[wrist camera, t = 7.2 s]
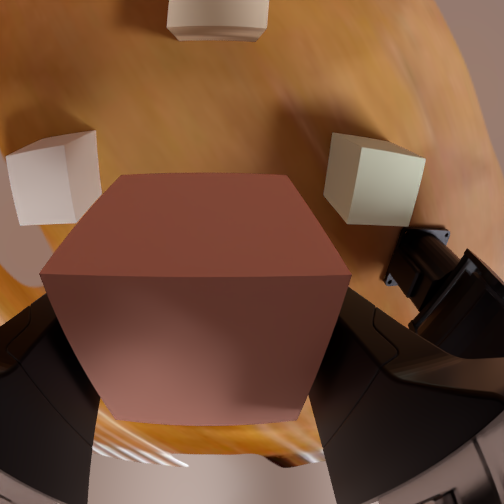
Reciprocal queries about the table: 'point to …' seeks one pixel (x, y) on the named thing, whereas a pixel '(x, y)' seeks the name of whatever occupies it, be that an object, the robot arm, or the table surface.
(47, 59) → the table surface
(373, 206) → the sage green block
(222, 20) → the ash block
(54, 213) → the pale grey block
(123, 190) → the brick-red block
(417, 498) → the robot arm
